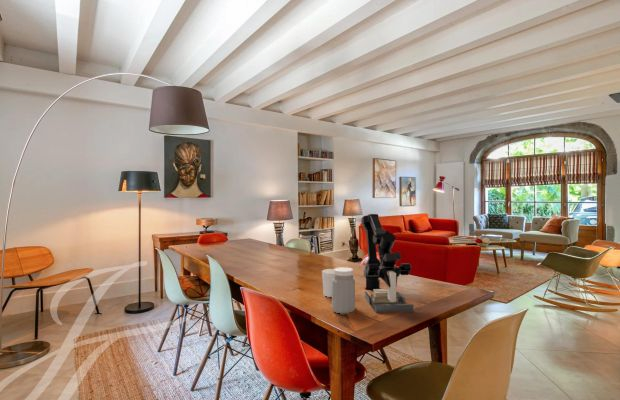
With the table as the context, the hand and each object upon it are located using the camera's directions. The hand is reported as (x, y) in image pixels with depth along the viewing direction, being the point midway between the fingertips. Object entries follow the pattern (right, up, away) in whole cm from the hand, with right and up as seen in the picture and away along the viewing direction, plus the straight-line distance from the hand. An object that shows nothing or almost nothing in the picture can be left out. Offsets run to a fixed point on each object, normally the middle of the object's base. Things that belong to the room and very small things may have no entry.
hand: (392, 286), depth 139 cm
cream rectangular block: (0, -6, +1) cm, 6 cm away
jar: (-21, -11, +2) cm, 24 cm away
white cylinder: (-24, -11, +24) cm, 36 cm away
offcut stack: (-1, -11, +13) cm, 17 cm away
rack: (0, -11, +8) cm, 13 cm away
